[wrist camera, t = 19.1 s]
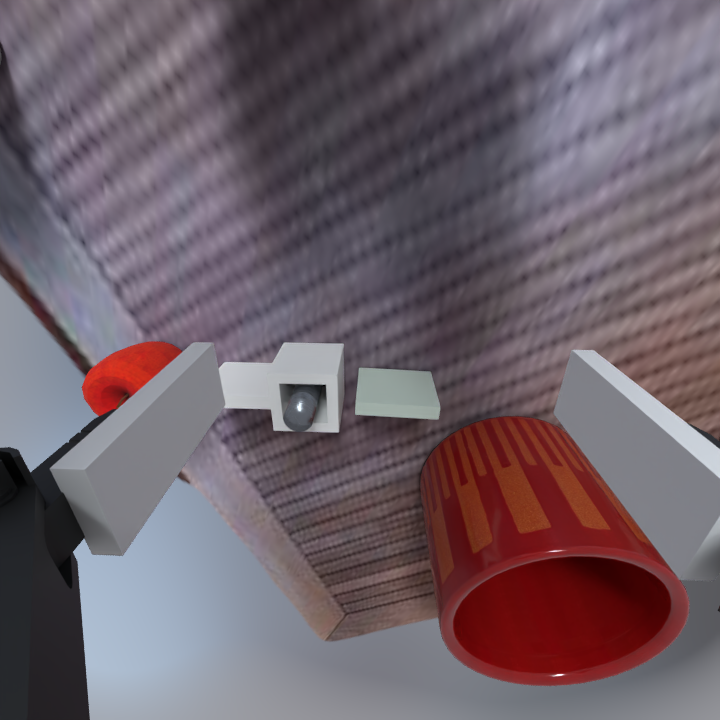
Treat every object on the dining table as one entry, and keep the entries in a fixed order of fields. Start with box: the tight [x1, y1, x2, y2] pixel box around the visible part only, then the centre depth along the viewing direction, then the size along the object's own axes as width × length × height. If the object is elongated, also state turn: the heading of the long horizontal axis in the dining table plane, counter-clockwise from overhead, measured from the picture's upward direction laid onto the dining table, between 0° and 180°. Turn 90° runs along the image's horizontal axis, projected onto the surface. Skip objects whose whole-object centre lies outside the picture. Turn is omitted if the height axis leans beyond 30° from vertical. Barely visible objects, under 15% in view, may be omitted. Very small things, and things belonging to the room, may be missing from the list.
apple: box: [82, 342, 182, 416], centre depth 42 cm, size 9×9×11 cm
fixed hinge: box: [219, 343, 345, 433], centre depth 43 cm, size 7×15×8 cm, turn 90°
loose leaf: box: [355, 368, 440, 420], centre depth 42 cm, size 2×9×8 cm, turn 87°
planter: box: [420, 416, 689, 686], centre depth 44 cm, size 23×23×20 cm
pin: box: [283, 384, 323, 432], centre depth 41 cm, size 3×3×11 cm
